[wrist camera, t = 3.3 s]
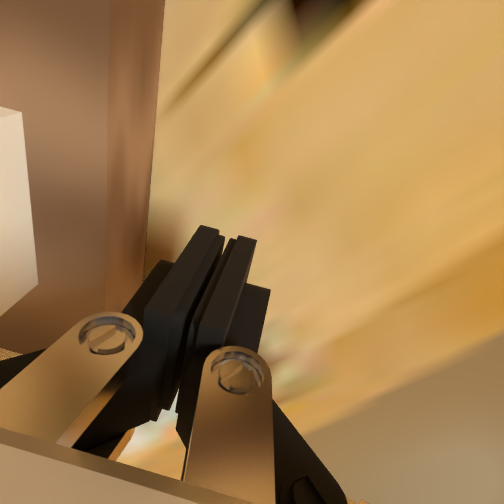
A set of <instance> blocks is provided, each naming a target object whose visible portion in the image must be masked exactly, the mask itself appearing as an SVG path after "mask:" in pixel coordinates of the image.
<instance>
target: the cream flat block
mask: <svg viewBox="0 0 504 504" xmlns="http://www.w3.org/2000/svg"><path fill="white" fill-rule="evenodd" d="M36 285H38V274H37V264H36V254H35V243H34V233H33V223H32V212H31V202H30V192H29V182H28V171H27V161H26V151H25V140H24V130H23V120H22V112H19V111H15V110H11V109H8V108H4V107H0V316H1V315H3V314H4V313H5V312H6V311H7V310H8V309H10V308H11V307H12V306H13V305H14V304H15V303H17V302H18V301H19V300H20V299H21V298H22V297H24V296H25V295H26V294H27V293H28V292H29V291H31V290H32V289H33V288H34V287H35V286H36Z"/></svg>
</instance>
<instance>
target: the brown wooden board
mask: <svg viewBox="0 0 504 504" xmlns="http://www.w3.org/2000/svg"><path fill="white" fill-rule="evenodd" d="M164 5H165V0H0V107H4V108H8V109H11V110H15V111H19V112H22V120H23V130H24V140H25V151H26V161H27V171H28V182H29V192H30V202H31V212H32V223H33V233H34V243H35V254H36V264H37V274H38V285H36V286H35V287H34V288H33V289H32V290H31V291H29V292H28V293H27V294H26V295H25V296H24V297H22V298H21V299H20V300H19V301H18V302H17V303H15V304H14V305H13V306H12V307H11V308H10V309H8V310H7V311H6V312H5V313H4V314H3V315H1V316H0V348H3V349H7V350H10V351H13V352H17V353H20V354H28V353H31V352H35V351H39V350H42V349H46V348H49V347H50V346H51V345H52V344H54V343H55V342H56V341H57V340H58V339H59V338H61V337H62V336H63V335H64V334H65V333H66V332H68V331H69V330H70V329H71V328H72V327H73V326H74V325H76V324H77V323H78V322H79V321H81V320H82V319H84V318H86V317H87V316H90V315H93V314H96V313H101V312H119V313H121V312H122V310H123V309H124V308H125V306H126V305H127V304H128V302H129V301H130V300H131V298H132V297H133V296H134V294H135V293H136V292H137V290H138V289H139V288H140V286H141V285H142V284H143V272H144V259H145V246H146V234H147V221H148V208H149V196H150V183H151V170H152V158H153V145H154V132H155V120H156V107H157V94H158V81H159V69H160V56H161V43H162V31H163V18H164Z"/></svg>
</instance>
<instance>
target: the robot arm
mask: <svg viewBox="0 0 504 504" xmlns="http://www.w3.org/2000/svg"><path fill="white" fill-rule="evenodd" d="M224 241H225V236H221V235H219V230H218V229H214V228H211V227H207V226H203V225H200V226H199V228H198V229H197V231H196V232H195V234H194V235H193V237H192V238H191V240H190V241H189V243H188V244H187V246H186V247H185V249H184V250H183V252H182V253H181V255H180V256H179V258H178V259H177V261H176V262H175V263H172V262H168V261H165V260H160V261H159V262H158V263H157V265H156V266H155V267H154V269H153V270H152V271H151V273H150V274H149V275H148V277H147V278H146V280H145V281H144V282H143V284H142V285H141V286H140V288H139V289H138V290H137V292H136V293H135V294H134V296H133V297H132V298H131V300H130V301H129V302H128V304H127V305H126V306H125V308H124V309H123V310H122V312H121V313H119V312H101V313H96V314H93V315H90V316H87V317H86V318H84V319H82V320H81V321H79V322H78V323H77V324H76V325H74V326H73V327H72V328H71V329H70V330H69V331H68V332H66V333H65V334H64V335H63V336H62V337H61V338H59V339H58V340H57V341H56V342H55V343H54V344H52V345H51V346H50V347H49V348H46V349H42V350H39V351H35V352H31V353H28V354H24V355H20V356H17V357H13V358H9V359H6V360H2V361H0V504H357V503H355V502H353V501H352V500H350V499H348V498H346V496H345V494H344V492H343V491H342V489H341V487H340V486H339V484H338V483H337V481H336V480H335V479H334V478H333V476H332V475H331V474H330V472H329V471H328V470H327V468H326V467H325V466H324V465H323V463H322V462H321V461H320V459H319V458H318V457H317V456H316V454H315V453H314V452H313V450H312V449H311V448H310V447H309V445H308V444H307V443H306V441H305V440H304V439H303V438H302V436H301V435H300V434H299V432H298V431H297V430H296V429H295V427H294V426H293V425H292V423H291V422H290V421H289V419H288V418H287V417H286V416H285V414H284V413H283V412H282V410H281V409H280V408H279V407H278V405H277V404H276V403H275V401H274V400H273V399H272V377H271V372H270V368H269V367H268V365H267V363H266V362H265V360H264V359H263V358H262V357H260V356H259V355H258V354H257V352H258V348H259V343H260V338H261V334H262V329H263V324H264V320H265V315H266V310H267V306H268V301H269V296H270V291H271V290H270V289H266V288H263V287H259V286H255V285H252V284H248V283H246V282H247V278H248V274H249V270H250V266H251V262H252V258H253V254H254V250H255V246H256V242H257V240H255V239H251V238H247V237H244V236H240V235H239V236H238V238H237V240H236V239H232V238H230V240H229V242H228V244H227V246H226V248H225V250H224V252H223V254H222V251H223V246H224ZM178 389H179V392H178V398H177V404H176V410H175V413H178V419H177V424H176V431H177V432H178V434H179V436H180V438H181V440H182V442H183V444H184V446H185V447H186V451H185V456H184V462H183V468H182V473H181V479H180V480H176V479H173V478H170V477H166V476H163V475H160V474H156V473H153V472H150V471H146V470H143V469H140V468H136V467H133V466H130V465H126V464H123V463H120V462H116V460H117V458H118V457H119V456H120V454H121V453H122V451H123V450H124V448H125V447H126V445H127V444H128V442H129V441H130V439H131V437H132V435H133V433H134V430H135V427H137V426H139V425H142V424H144V423H146V422H149V421H150V420H152V421H155V422H156V421H157V419H158V417H159V415H160V412H161V410H162V409H165V410H168V411H169V410H170V408H171V406H172V403H173V401H174V399H175V396H176V394H177V391H178ZM358 504H368V503H367V502H365V501H363V500H361V501H360V502H359V503H358Z"/></svg>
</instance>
